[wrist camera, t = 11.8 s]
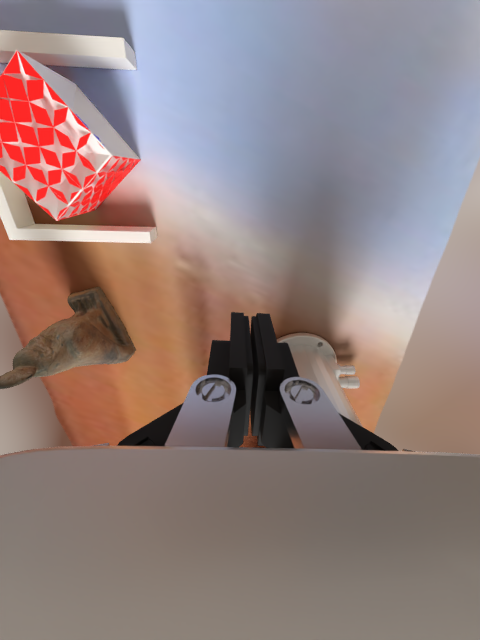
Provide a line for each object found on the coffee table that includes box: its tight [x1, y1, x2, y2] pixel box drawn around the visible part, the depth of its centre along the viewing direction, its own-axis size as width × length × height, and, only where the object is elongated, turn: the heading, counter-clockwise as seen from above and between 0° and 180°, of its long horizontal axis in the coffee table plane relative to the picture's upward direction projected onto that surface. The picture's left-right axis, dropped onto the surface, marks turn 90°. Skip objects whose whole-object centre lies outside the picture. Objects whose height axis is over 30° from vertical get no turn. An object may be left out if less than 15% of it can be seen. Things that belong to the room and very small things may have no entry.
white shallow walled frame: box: [0, 30, 157, 243], centre depth 26 cm, size 15×16×3 cm
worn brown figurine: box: [0, 287, 136, 389], centre depth 30 cm, size 12×6×18 cm, turn 9°
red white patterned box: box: [0, 50, 141, 221], centre depth 24 cm, size 8×8×8 cm
